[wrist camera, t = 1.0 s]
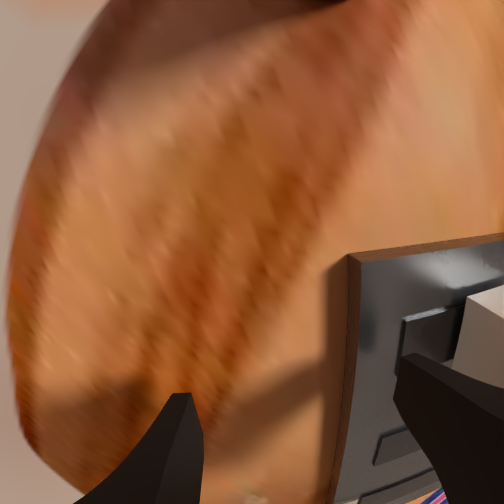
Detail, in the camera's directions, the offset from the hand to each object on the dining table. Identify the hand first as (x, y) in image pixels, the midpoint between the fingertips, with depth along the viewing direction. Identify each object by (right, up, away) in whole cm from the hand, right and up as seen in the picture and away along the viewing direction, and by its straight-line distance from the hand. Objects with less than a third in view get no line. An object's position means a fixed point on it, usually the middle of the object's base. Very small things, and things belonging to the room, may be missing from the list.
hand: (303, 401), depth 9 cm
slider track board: (+13, -5, +5) cm, 15 cm away
